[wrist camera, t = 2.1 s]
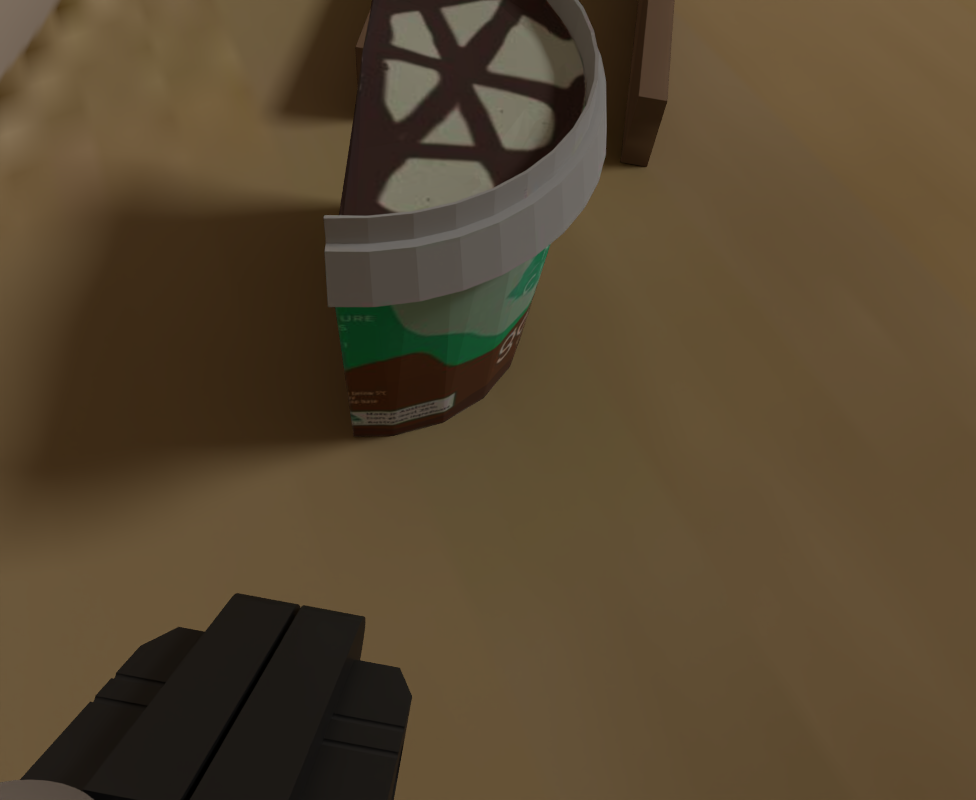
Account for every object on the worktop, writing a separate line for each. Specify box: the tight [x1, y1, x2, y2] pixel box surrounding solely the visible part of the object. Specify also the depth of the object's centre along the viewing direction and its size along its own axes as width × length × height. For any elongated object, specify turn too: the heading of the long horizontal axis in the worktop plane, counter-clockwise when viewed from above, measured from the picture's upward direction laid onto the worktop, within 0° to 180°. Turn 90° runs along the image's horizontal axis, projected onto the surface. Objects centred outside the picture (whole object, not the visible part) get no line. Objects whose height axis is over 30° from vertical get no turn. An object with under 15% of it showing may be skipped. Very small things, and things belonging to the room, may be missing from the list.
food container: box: [324, 0, 607, 436], centre depth 24 cm, size 12×6×10 cm, turn 179°
